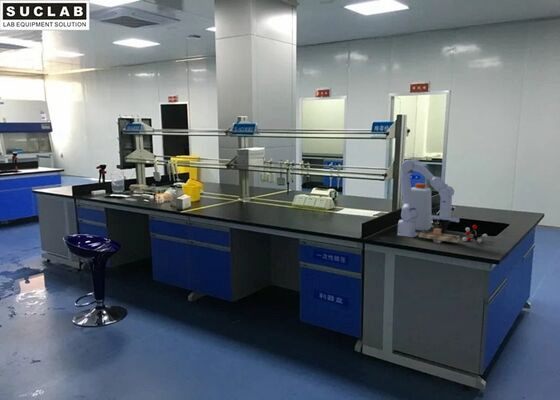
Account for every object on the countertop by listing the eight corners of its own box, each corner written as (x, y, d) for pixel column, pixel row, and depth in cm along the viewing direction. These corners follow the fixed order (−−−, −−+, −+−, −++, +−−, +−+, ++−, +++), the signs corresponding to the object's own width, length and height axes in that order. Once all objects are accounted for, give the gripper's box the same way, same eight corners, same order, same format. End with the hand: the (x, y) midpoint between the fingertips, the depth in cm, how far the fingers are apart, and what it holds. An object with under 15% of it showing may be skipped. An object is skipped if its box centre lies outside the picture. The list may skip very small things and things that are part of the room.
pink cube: (432, 235, 235) (433, 229, 235) (434, 234, 238) (435, 228, 237) (440, 236, 233) (440, 230, 232) (442, 235, 236) (442, 229, 235)
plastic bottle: (403, 229, 264) (405, 184, 259) (408, 224, 277) (410, 181, 273) (428, 232, 257) (431, 185, 252) (432, 227, 270) (435, 183, 266)
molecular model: (471, 245, 242) (476, 229, 243) (485, 248, 235) (489, 231, 236) (457, 237, 233) (462, 220, 235) (470, 240, 227) (475, 222, 228)
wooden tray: (418, 239, 239) (418, 230, 238) (422, 237, 244) (423, 228, 243) (455, 245, 227) (456, 236, 226) (459, 242, 232) (459, 233, 232)
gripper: (429, 208, 232) (428, 232, 234) (457, 211, 224) (455, 236, 226) (433, 206, 238) (432, 230, 240) (461, 209, 229) (459, 234, 231)
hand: (443, 233), depth 233 cm, fingers closed
